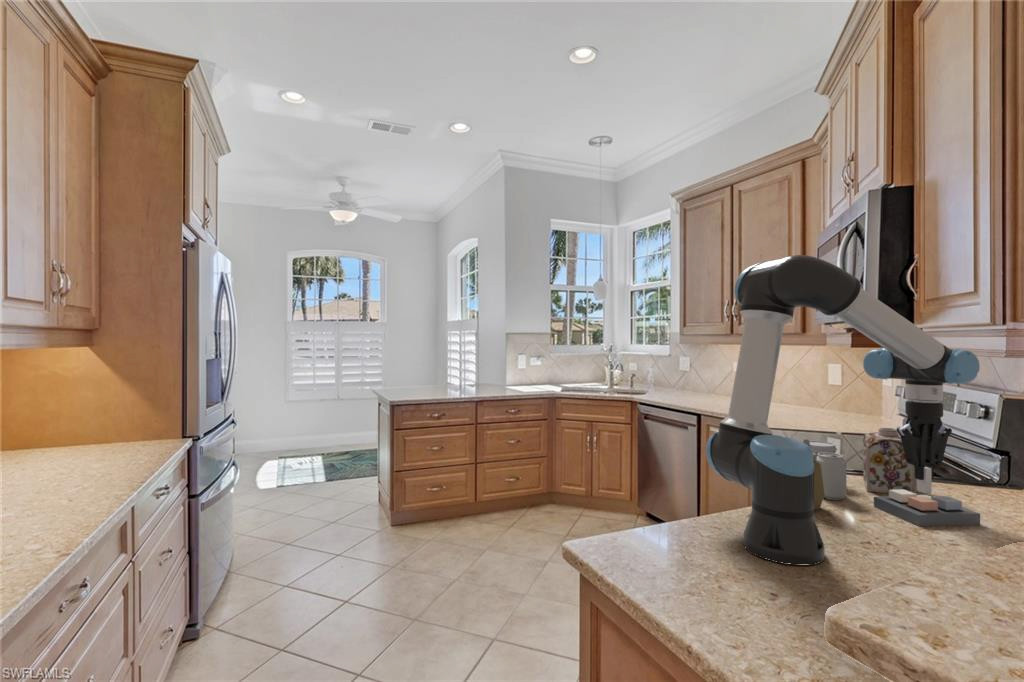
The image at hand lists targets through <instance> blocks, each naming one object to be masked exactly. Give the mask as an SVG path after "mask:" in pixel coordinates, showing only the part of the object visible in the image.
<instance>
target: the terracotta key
mask: <svg viewBox="0 0 1024 682" xmlns="http://www.w3.org/2000/svg"><path fill="white" fill-rule="evenodd" d="M908 505H909V506H912V507H914V508H917V509H918V511H919V512H921V513H928V510H938V502H937V501H934V500H932V499H929V498H926V497H908Z"/></svg>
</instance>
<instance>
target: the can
mask: <svg viewBox="0 0 1024 682" xmlns="http://www.w3.org/2000/svg"><path fill="white" fill-rule="evenodd" d="M816 461H817V462H819V463H820V464H821V470H822V478H823V486H824V494H825V496H824V499H828V500H835V501H836V500H837V501H839V500H843V499H844V498H846V497H847V495H848V494H847V491H848V490H847V461H846V460H845V458H844V455H843V454H840V453H836V452H835V453H828V452H821V453H818V456H817V460H816Z"/></svg>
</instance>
